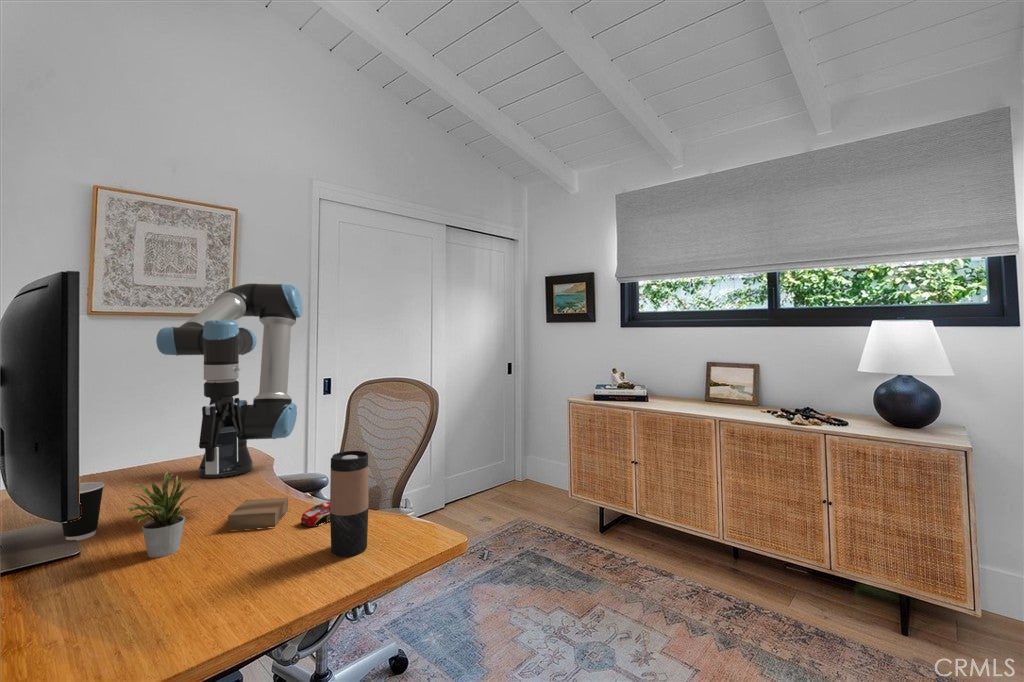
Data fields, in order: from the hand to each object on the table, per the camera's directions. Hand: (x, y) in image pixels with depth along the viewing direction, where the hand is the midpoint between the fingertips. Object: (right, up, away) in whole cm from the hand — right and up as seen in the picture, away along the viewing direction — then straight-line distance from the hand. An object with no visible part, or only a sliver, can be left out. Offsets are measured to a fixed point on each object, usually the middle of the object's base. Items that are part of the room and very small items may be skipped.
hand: (222, 467), depth 114 cm
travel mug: (+40, -12, -20) cm, 47 cm away
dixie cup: (-22, -12, -15) cm, 29 cm away
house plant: (+1, -12, -21) cm, 24 cm away
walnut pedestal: (+13, -12, -6) cm, 18 cm away
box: (0, -1, 0) cm, 1 cm away
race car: (+29, -12, -4) cm, 32 cm away
